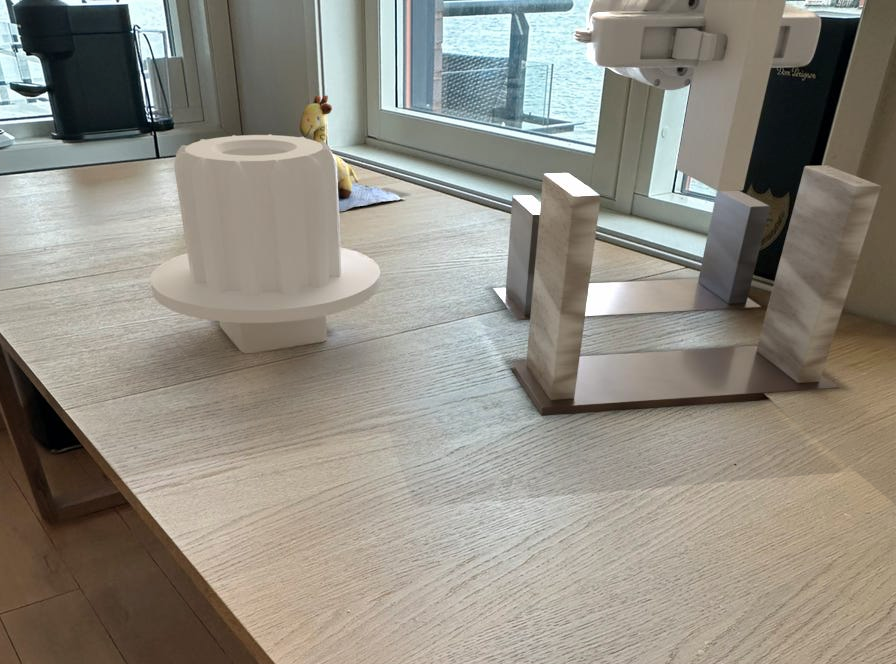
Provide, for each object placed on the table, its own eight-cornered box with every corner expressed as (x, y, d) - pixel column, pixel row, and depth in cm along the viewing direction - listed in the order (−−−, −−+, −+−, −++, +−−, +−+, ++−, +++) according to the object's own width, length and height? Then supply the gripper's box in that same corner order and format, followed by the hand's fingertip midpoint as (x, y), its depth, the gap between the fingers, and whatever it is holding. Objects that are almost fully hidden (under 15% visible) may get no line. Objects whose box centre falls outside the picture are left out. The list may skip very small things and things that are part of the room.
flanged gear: (192, 392, 86) (157, 183, 74) (141, 315, 103) (106, 135, 91) (417, 354, 94) (419, 160, 82) (334, 288, 112) (326, 120, 100)
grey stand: (717, 283, 115) (739, 185, 107) (760, 313, 105) (787, 208, 98) (492, 294, 110) (498, 193, 103) (516, 326, 101) (525, 218, 94)
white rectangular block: (699, 168, 81) (748, -80, 69) (743, 190, 74) (805, -81, 63) (675, 169, 81) (720, -81, 69) (717, 191, 74) (775, -82, 62)
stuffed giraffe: (268, 196, 150) (263, 89, 140) (350, 185, 160) (351, 84, 149) (321, 218, 141) (320, 105, 131) (405, 206, 151) (410, 100, 140)
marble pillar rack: (778, 351, 96) (831, 161, 84) (836, 394, 87) (905, 189, 75) (509, 367, 91) (525, 170, 80) (541, 415, 82) (564, 201, 70)
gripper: (571, -9, 77) (626, 0, 67) (781, -9, 80) (865, 0, 70) (563, 74, 81) (613, 95, 71) (763, 71, 84) (839, 91, 74)
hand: (740, 48), depth 70 cm, fingers closed on white rectangular block, 2 cm apart
